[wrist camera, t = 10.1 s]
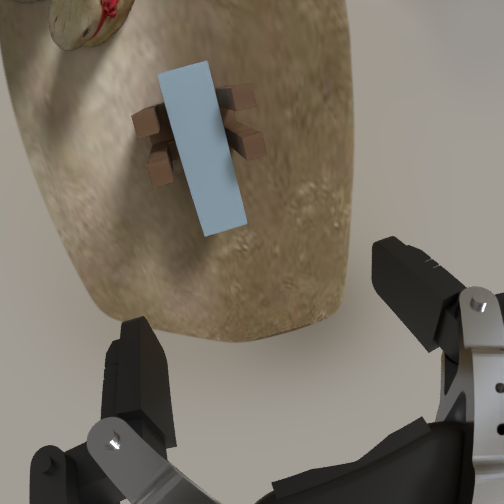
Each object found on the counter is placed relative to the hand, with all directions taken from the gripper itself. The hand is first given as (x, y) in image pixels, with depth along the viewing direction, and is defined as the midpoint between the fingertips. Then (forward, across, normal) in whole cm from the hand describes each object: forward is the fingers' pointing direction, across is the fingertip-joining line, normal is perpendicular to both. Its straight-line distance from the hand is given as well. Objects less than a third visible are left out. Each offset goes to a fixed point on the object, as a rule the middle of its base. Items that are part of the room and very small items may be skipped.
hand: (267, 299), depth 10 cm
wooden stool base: (+18, 0, -4) cm, 18 cm away
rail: (+16, 0, -3) cm, 16 cm away
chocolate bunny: (+18, +4, -16) cm, 25 cm away
